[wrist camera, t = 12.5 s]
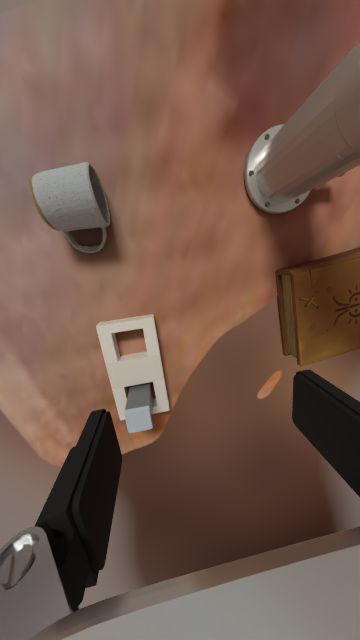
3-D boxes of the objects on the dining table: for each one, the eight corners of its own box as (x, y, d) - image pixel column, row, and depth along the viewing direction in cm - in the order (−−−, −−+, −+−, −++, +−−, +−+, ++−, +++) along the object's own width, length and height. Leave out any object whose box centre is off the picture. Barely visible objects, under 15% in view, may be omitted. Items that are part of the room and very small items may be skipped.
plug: (150, 378, 40) (148, 408, 32) (153, 395, 41) (152, 428, 33) (130, 382, 40) (124, 413, 31) (134, 398, 41) (128, 433, 32)
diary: (378, 241, 39) (415, 237, 34) (375, 326, 45) (406, 334, 39) (273, 270, 38) (293, 270, 32) (282, 354, 43) (301, 366, 38)
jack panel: (153, 314, 37) (153, 317, 34) (168, 402, 42) (169, 410, 40) (99, 322, 36) (95, 326, 33) (122, 411, 41) (120, 420, 39)
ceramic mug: (47, 186, 30) (12, 160, 22) (100, 177, 30) (83, 149, 23) (71, 257, 33) (48, 255, 25) (119, 248, 33) (110, 243, 26)
